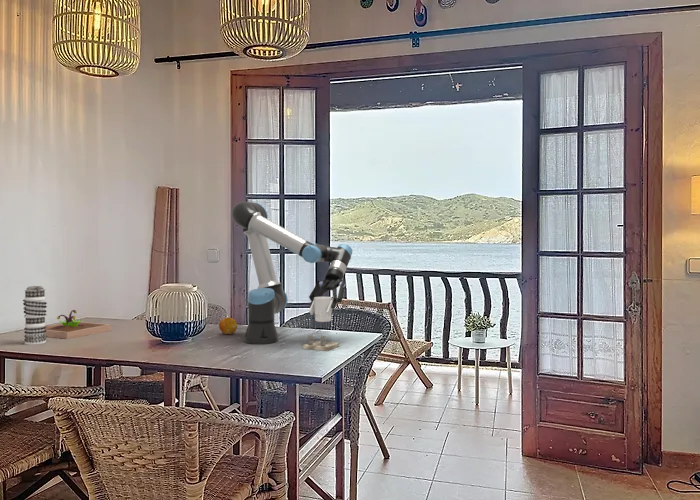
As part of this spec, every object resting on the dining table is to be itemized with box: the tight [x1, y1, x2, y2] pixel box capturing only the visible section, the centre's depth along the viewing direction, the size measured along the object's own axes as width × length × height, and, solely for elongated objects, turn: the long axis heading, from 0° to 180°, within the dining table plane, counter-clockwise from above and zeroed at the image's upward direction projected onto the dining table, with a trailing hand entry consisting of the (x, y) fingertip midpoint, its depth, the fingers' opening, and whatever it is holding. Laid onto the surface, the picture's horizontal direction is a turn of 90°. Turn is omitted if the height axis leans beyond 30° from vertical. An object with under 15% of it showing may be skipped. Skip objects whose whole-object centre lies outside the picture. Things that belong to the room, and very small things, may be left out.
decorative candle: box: [22, 285, 48, 346], centre depth 248 cm, size 9×9×25 cm
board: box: [302, 334, 340, 352], centre depth 239 cm, size 12×11×6 cm
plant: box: [46, 309, 92, 332], centre depth 276 cm, size 20×20×11 cm
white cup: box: [314, 296, 333, 323], centre depth 240 cm, size 8×8×10 cm
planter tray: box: [45, 321, 111, 340], centre depth 274 cm, size 25×25×3 cm
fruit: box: [218, 316, 238, 335], centre depth 271 cm, size 8×9×8 cm
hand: (319, 313), depth 237 cm, fingers closed on white cup, 8 cm apart
